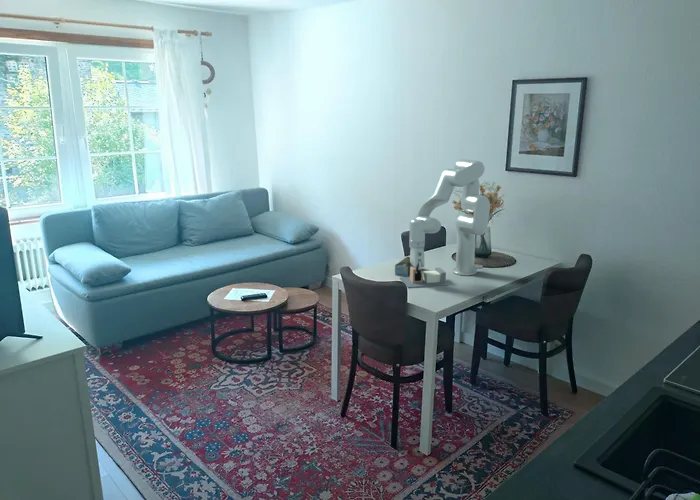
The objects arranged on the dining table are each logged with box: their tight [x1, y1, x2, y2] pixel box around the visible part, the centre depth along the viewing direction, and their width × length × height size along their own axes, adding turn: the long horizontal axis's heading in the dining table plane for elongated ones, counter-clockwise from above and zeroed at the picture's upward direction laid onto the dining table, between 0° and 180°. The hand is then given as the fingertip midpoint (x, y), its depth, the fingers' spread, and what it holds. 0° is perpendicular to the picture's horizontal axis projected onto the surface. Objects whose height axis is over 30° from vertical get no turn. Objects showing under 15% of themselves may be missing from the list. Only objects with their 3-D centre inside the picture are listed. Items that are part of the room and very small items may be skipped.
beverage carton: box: [394, 256, 412, 277], centre depth 287 cm, size 8×19×7 cm, turn 153°
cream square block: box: [423, 267, 447, 283], centre depth 270 cm, size 9×9×5 cm
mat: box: [399, 276, 448, 289], centre depth 270 cm, size 20×16×1 cm
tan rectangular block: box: [409, 266, 424, 283], centre depth 268 cm, size 5×5×7 cm
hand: (416, 278), depth 269 cm, fingers closed on tan rectangular block, 5 cm apart
